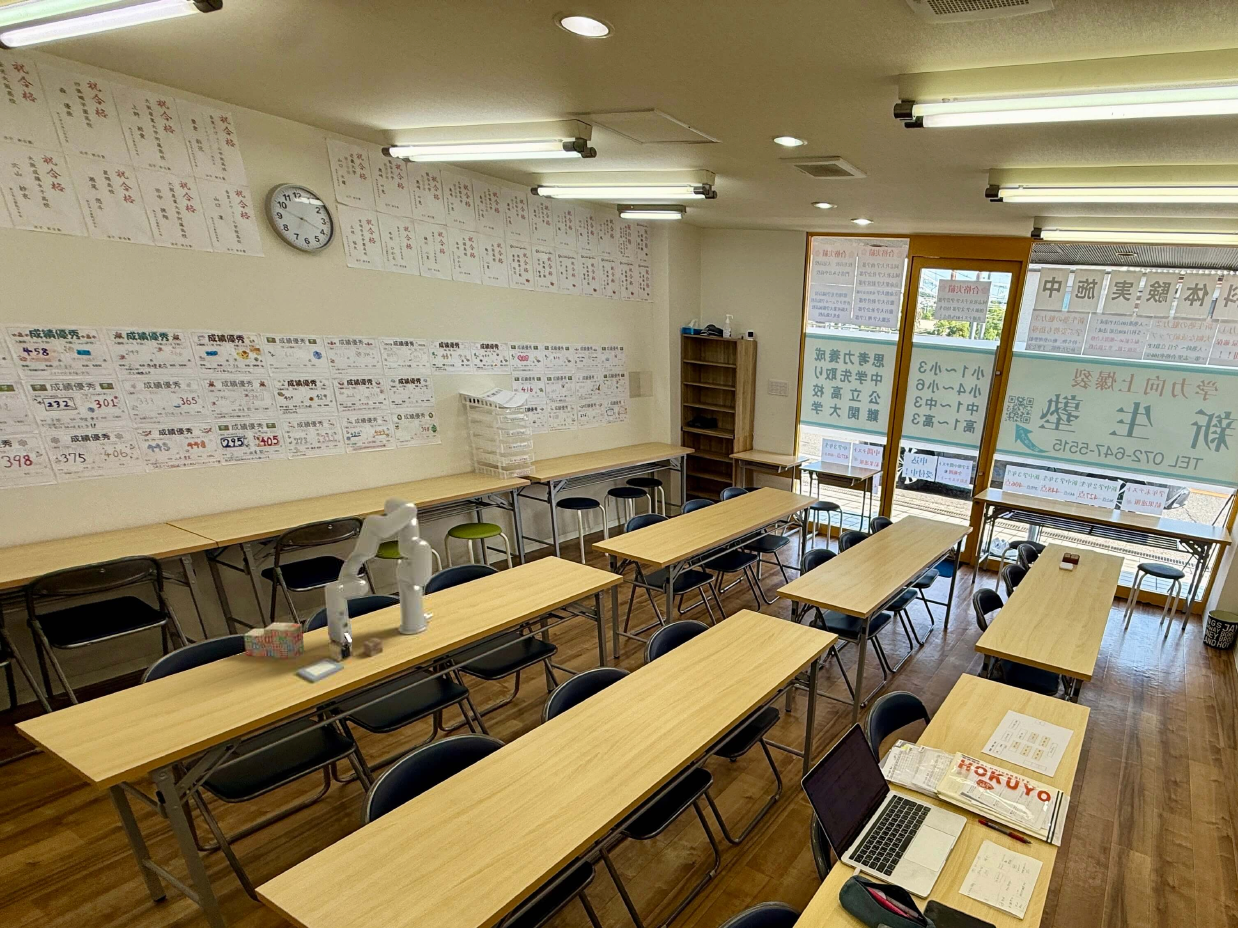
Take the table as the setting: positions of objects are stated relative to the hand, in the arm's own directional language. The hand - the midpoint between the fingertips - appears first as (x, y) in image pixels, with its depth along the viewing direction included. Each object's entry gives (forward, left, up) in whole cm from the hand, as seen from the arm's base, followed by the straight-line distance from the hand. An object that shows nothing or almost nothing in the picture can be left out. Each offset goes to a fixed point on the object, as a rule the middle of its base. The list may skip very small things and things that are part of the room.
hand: (341, 654), depth 235 cm
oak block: (0, 0, -1) cm, 1 cm away
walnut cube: (-9, +8, -1) cm, 12 cm away
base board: (+11, +4, -1) cm, 12 cm away
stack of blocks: (+13, -25, -1) cm, 29 cm away
